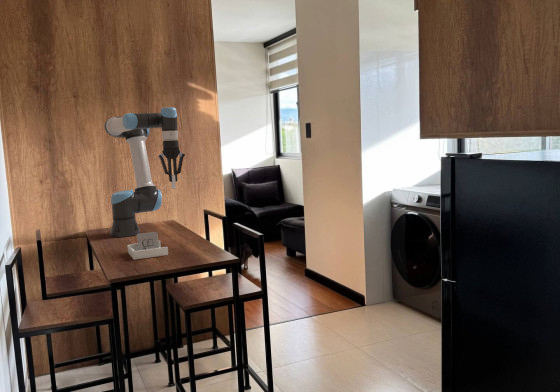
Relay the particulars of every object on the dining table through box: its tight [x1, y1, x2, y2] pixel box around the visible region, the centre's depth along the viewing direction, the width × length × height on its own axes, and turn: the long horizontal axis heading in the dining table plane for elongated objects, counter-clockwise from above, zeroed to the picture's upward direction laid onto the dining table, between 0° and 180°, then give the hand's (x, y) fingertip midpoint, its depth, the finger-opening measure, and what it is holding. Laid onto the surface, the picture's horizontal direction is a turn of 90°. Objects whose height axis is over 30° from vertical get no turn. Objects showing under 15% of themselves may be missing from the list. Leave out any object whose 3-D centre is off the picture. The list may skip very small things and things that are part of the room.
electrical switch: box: [135, 231, 159, 251], centre depth 243 cm, size 9×5×9 cm, turn 113°
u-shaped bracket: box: [127, 240, 169, 260], centre depth 240 cm, size 16×15×4 cm
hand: (173, 188), depth 261 cm, fingers closed
